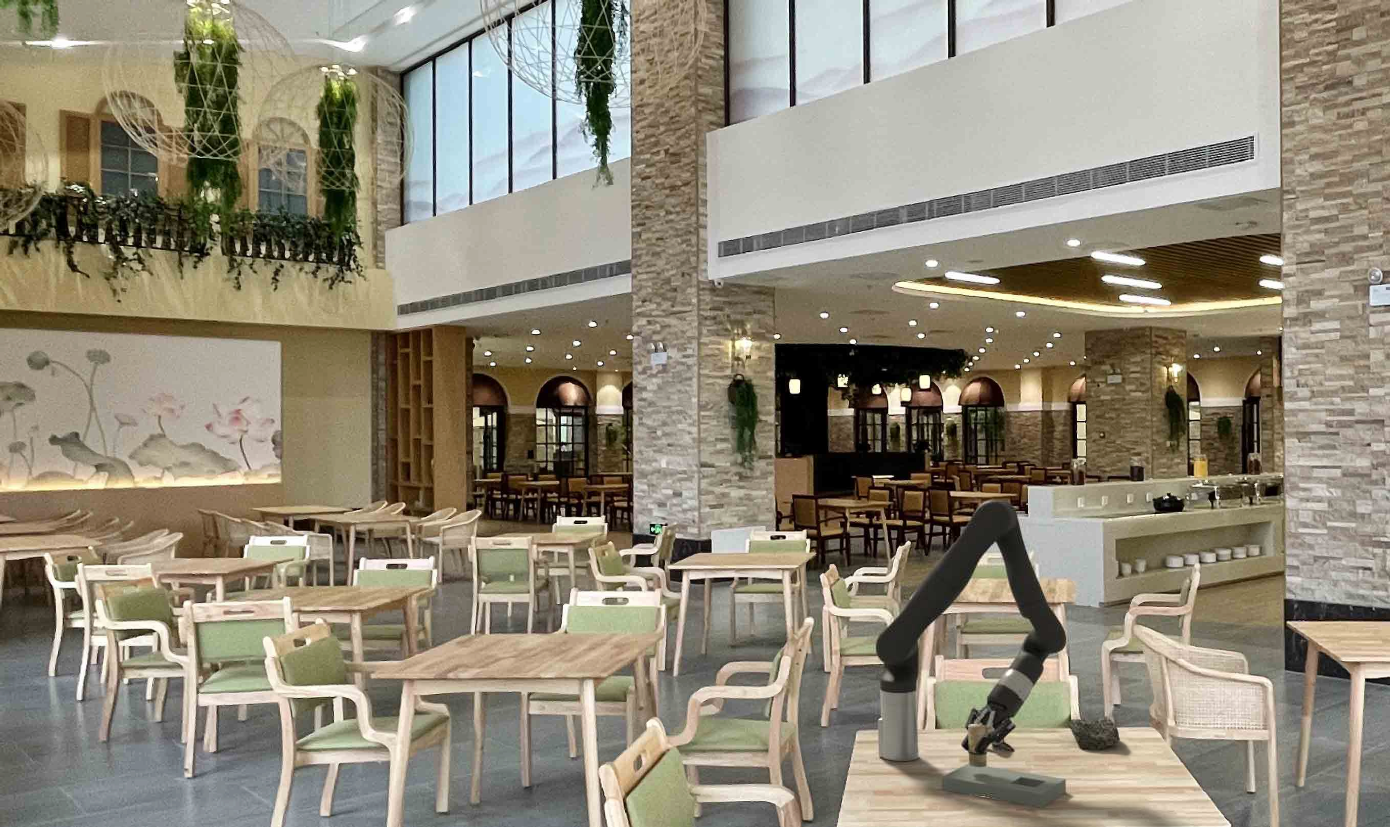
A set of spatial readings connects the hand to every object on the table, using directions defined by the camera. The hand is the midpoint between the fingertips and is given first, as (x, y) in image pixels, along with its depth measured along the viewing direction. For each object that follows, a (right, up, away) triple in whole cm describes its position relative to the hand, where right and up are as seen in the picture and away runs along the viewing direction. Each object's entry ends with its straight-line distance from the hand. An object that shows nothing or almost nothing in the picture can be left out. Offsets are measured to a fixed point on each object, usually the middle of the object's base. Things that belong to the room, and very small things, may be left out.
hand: (971, 750), depth 277 cm
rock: (+42, -9, +38) cm, 57 cm away
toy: (+16, -10, +39) cm, 43 cm away
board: (+7, -8, -3) cm, 11 cm away
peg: (+2, -4, +1) cm, 4 cm away
